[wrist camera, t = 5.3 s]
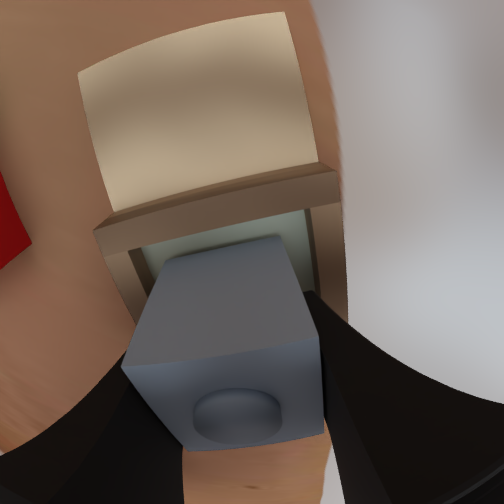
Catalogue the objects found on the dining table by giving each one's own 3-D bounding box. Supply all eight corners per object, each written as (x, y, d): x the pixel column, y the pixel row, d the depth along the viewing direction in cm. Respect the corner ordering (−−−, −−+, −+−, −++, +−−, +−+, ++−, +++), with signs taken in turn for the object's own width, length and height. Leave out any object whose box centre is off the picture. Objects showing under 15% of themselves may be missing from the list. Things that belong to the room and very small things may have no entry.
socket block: (329, 314, 14) (348, 356, 12) (182, 343, 15) (174, 388, 12) (279, 21, 8) (294, -10, 6) (90, 76, 9) (49, 67, 6)
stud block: (295, 326, 11) (326, 444, 6) (199, 344, 11) (187, 462, 6) (279, 235, 10) (323, 350, 5) (165, 260, 10) (115, 380, 5)
